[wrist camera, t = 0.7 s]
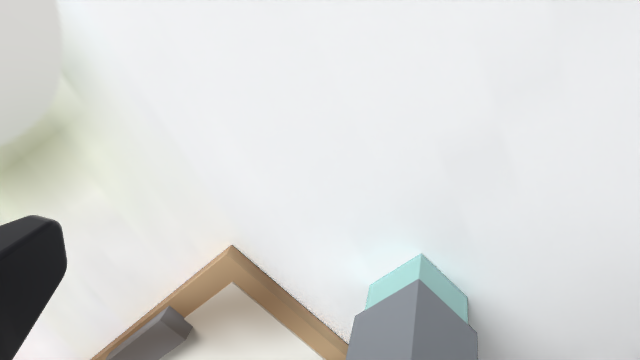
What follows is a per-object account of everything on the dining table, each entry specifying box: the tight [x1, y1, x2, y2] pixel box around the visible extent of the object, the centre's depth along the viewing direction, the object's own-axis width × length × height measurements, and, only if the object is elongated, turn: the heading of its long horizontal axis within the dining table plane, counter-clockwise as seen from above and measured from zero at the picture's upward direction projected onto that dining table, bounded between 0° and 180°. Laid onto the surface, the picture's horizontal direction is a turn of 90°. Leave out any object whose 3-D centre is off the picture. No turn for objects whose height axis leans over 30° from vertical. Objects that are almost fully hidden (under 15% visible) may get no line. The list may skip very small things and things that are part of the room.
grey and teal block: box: [346, 254, 478, 360], centre depth 22 cm, size 4×4×7 cm
